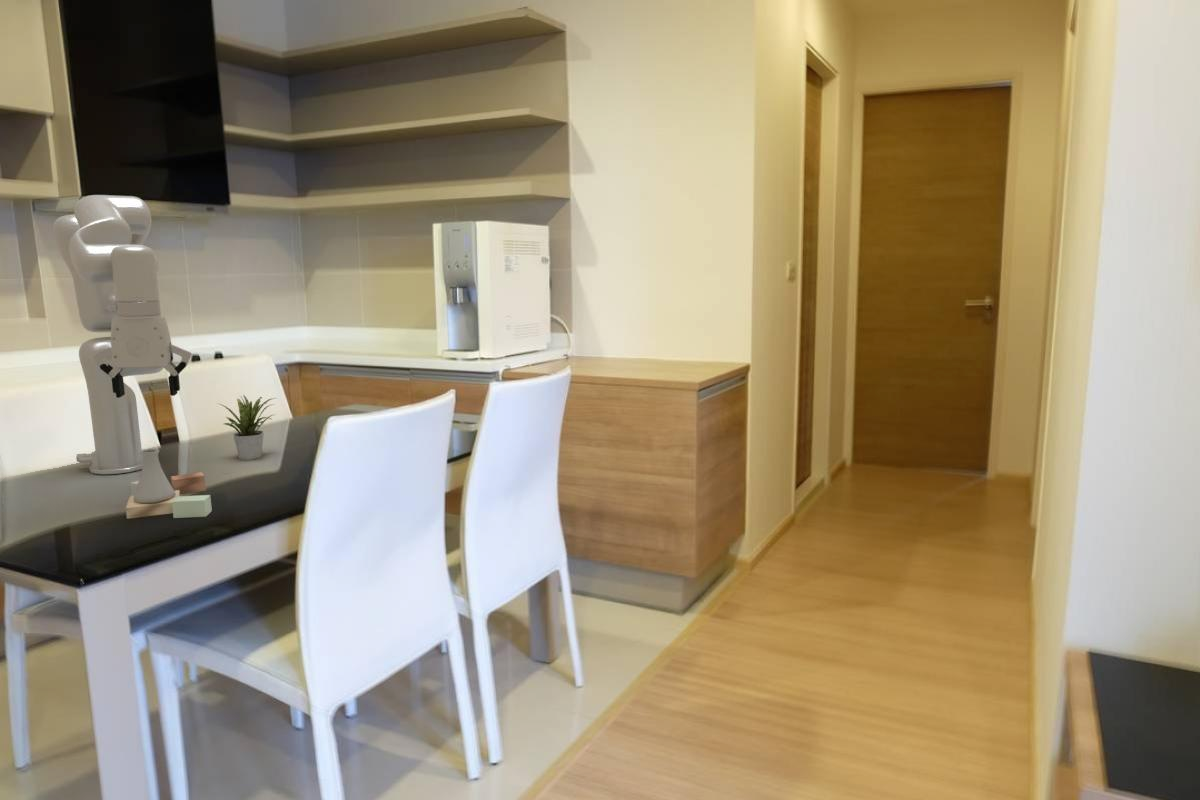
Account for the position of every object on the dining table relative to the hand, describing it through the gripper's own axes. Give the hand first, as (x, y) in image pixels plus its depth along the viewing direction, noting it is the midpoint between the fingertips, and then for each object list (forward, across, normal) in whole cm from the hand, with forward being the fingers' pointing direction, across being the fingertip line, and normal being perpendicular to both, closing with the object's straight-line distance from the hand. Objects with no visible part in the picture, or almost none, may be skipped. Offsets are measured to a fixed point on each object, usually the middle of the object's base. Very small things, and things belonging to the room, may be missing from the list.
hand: (147, 395), depth 161 cm
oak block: (+24, 0, -3) cm, 24 cm away
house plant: (+24, +14, +36) cm, 45 cm away
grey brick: (+23, -3, +6) cm, 24 cm away
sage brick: (+23, +8, -9) cm, 26 cm away
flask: (+21, 0, -3) cm, 21 cm away
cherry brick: (+23, +4, +9) cm, 25 cm away
